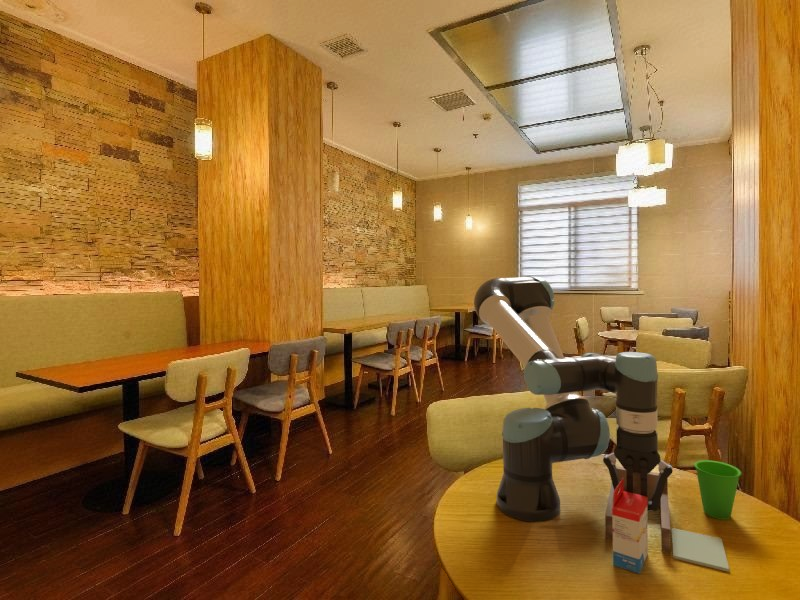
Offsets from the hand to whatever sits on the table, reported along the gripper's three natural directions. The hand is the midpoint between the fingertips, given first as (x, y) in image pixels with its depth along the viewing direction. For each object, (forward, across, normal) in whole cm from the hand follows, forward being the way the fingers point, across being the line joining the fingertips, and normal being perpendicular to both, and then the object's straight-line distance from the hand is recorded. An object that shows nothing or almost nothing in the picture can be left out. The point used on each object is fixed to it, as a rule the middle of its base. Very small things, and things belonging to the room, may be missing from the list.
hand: (637, 538), depth 93 cm
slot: (+1, 0, +10) cm, 10 cm away
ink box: (+2, -1, -6) cm, 6 cm away
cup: (+2, +16, +22) cm, 27 cm away
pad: (+2, +11, +4) cm, 12 cm away
